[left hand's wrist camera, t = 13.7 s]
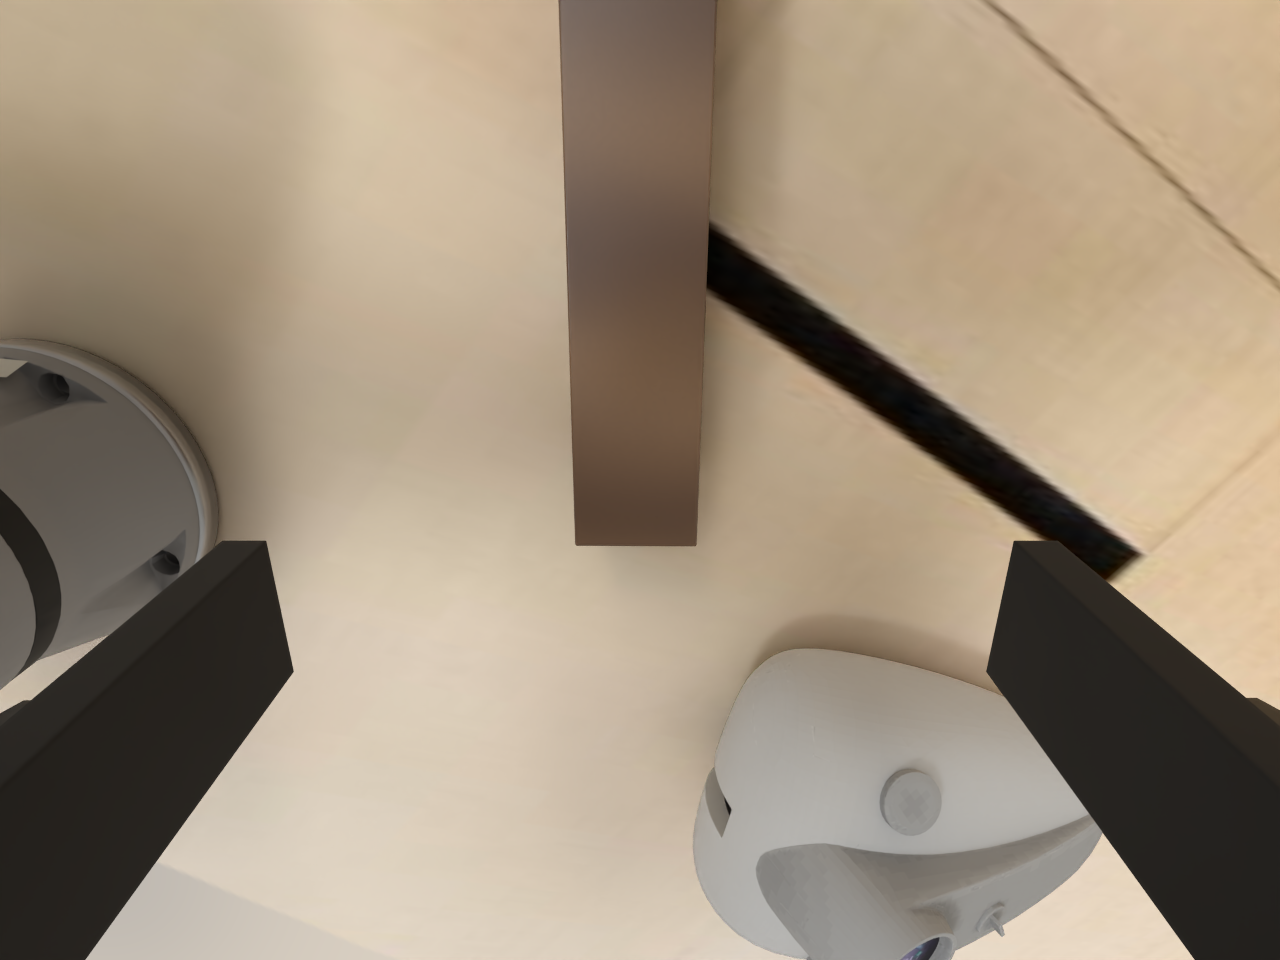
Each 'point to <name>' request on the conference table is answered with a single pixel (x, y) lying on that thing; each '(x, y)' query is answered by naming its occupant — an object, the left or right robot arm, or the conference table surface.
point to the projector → (879, 812)
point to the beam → (636, 260)
